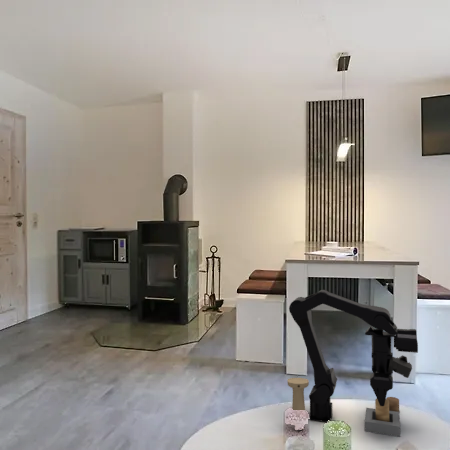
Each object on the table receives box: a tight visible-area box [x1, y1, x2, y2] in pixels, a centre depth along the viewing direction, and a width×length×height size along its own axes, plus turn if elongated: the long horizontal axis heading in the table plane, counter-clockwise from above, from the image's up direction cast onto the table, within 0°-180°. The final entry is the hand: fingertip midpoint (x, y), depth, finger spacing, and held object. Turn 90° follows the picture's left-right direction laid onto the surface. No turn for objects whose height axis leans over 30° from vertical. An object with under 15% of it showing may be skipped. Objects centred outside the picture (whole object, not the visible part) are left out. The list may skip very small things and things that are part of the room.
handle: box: [287, 377, 310, 411], centre depth 131 cm, size 5×6×15 cm
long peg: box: [374, 398, 389, 422], centre depth 131 cm, size 4×4×8 cm
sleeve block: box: [364, 407, 401, 438], centre depth 131 cm, size 10×10×3 cm
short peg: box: [386, 396, 400, 412], centre depth 142 cm, size 4×4×4 cm
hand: (382, 399), depth 131 cm, fingers open, 9 cm apart
